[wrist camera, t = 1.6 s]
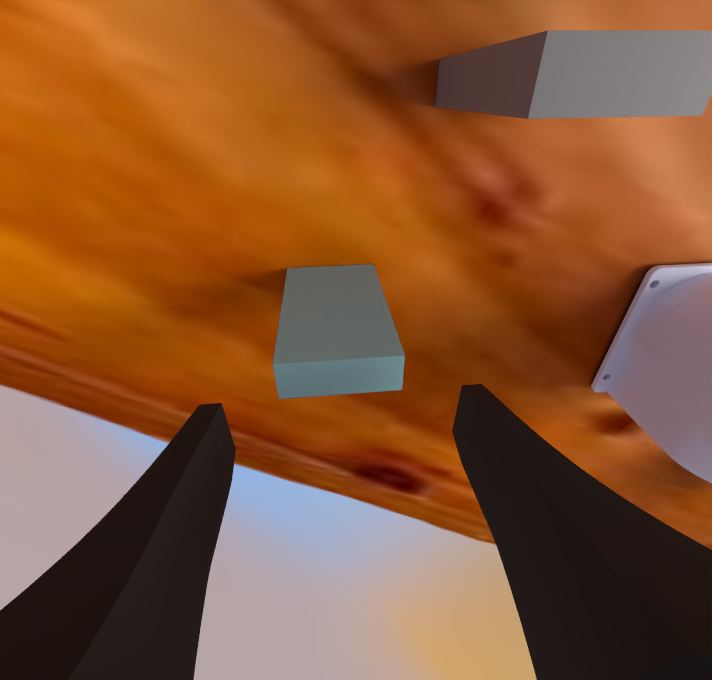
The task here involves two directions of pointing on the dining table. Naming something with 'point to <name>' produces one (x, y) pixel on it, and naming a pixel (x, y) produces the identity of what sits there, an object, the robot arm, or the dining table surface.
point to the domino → (582, 75)
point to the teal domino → (336, 334)
